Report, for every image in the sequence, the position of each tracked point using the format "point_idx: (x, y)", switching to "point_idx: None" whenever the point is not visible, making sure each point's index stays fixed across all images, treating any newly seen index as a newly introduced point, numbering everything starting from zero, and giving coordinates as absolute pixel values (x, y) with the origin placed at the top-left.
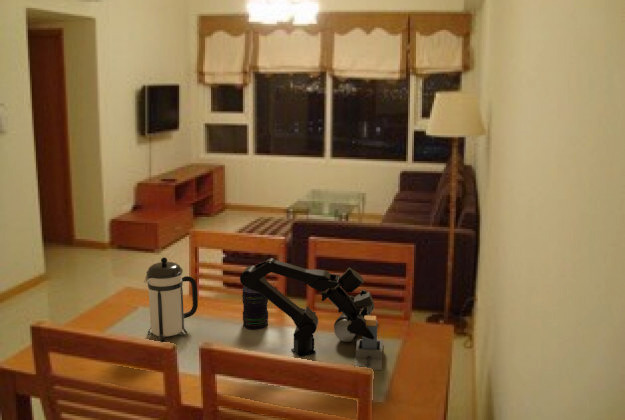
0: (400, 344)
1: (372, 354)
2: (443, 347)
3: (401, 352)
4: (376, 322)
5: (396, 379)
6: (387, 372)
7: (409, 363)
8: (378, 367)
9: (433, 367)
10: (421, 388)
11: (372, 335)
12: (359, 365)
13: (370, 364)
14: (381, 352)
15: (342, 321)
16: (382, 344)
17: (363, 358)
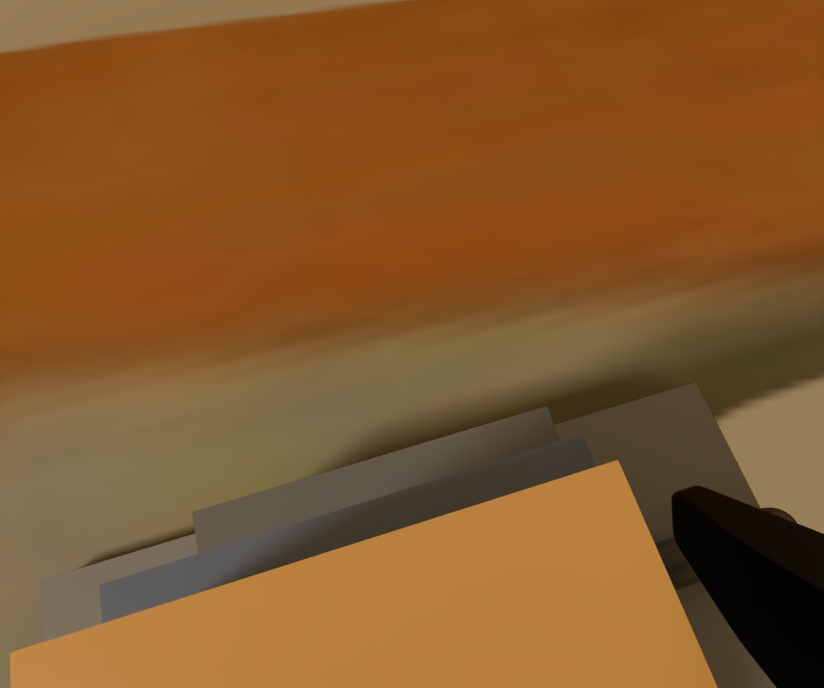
0: (28, 390)
1: None
2: (25, 67)
3: (217, 331)
4: (255, 572)
5: (764, 230)
6: (691, 332)
7: (419, 214)
8: (711, 418)
9: (407, 56)
10: (774, 53)
11: (772, 518)
12: None
13: None
14: (550, 421)
15: None
16: (333, 473)
17: None
